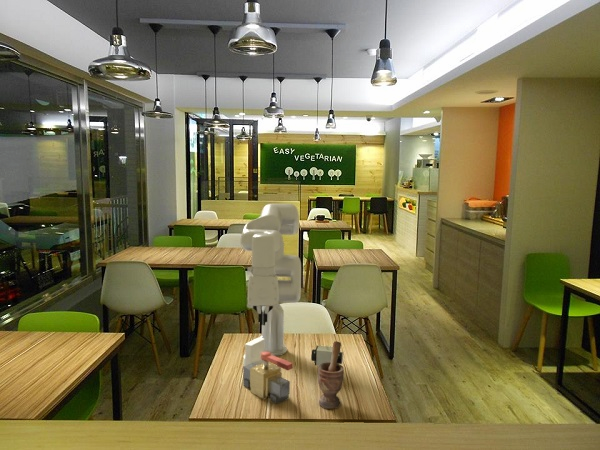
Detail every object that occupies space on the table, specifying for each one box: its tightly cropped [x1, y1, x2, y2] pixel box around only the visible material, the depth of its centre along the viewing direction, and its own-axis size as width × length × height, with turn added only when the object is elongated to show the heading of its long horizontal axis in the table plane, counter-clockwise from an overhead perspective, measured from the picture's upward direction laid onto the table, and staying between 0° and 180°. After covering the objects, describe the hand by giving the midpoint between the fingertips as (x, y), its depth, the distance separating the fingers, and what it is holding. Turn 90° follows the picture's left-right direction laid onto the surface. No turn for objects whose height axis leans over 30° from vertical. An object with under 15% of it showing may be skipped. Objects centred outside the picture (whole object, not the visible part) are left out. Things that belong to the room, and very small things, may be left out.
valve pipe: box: [242, 360, 291, 405], centre depth 161 cm, size 20×8×12 cm, turn 45°
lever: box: [261, 351, 294, 371], centre depth 157 cm, size 14×4×2 cm, turn 47°
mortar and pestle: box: [317, 340, 345, 410], centre depth 155 cm, size 12×9×20 cm
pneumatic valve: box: [310, 345, 344, 367], centre depth 175 cm, size 6×12×12 cm, turn 78°
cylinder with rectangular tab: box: [242, 336, 265, 367], centre depth 178 cm, size 9×9×12 cm
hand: (262, 324), depth 152 cm, fingers closed
